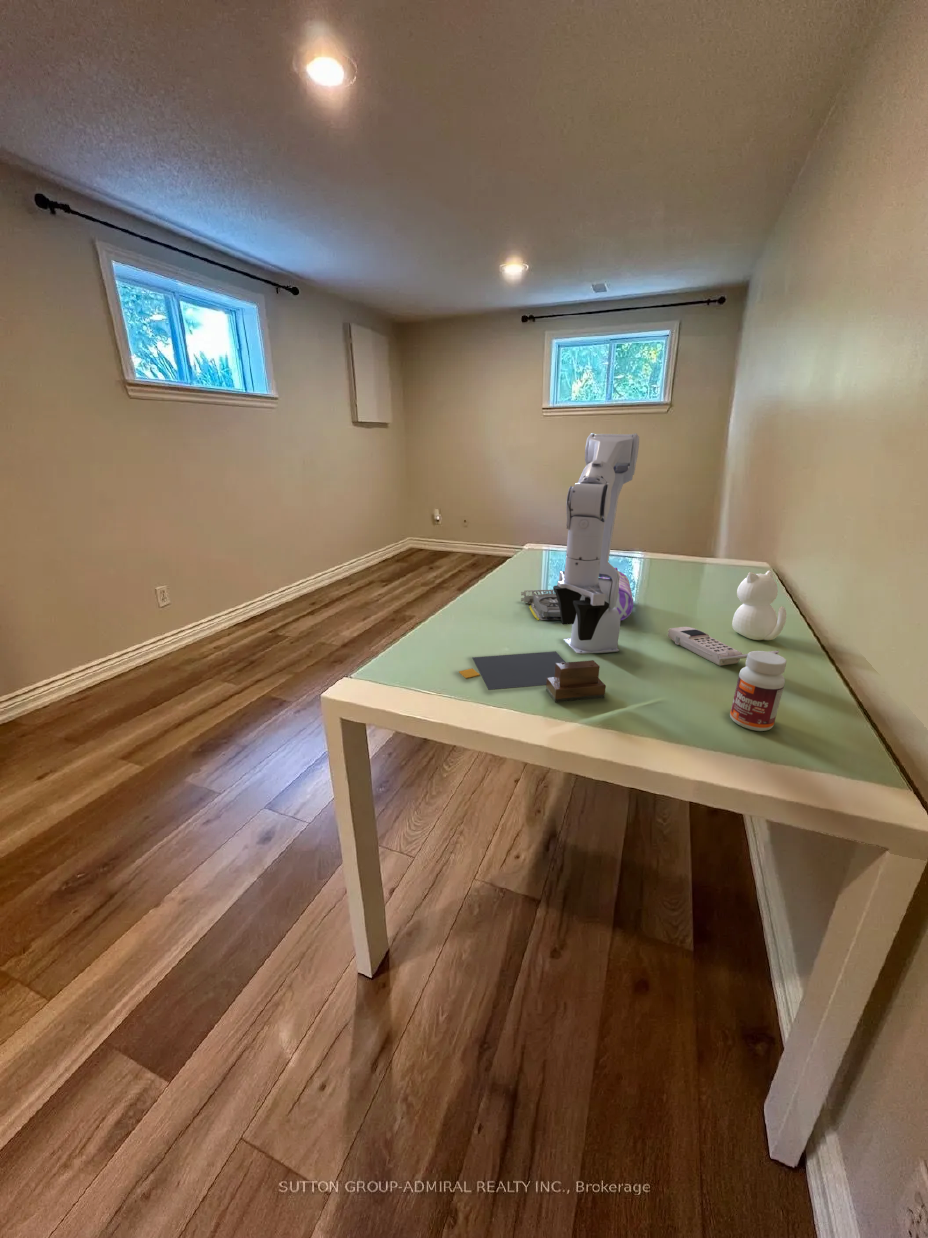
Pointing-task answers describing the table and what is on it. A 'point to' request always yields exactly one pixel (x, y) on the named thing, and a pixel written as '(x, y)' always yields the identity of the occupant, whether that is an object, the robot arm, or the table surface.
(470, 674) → the mustard square tile
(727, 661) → the mobile phone
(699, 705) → the table surface
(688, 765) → the table surface
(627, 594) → the pencil case
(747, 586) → the cat figurine
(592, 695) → the brown stepped block
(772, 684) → the pill bottle
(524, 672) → the mat
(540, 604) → the graphics card
